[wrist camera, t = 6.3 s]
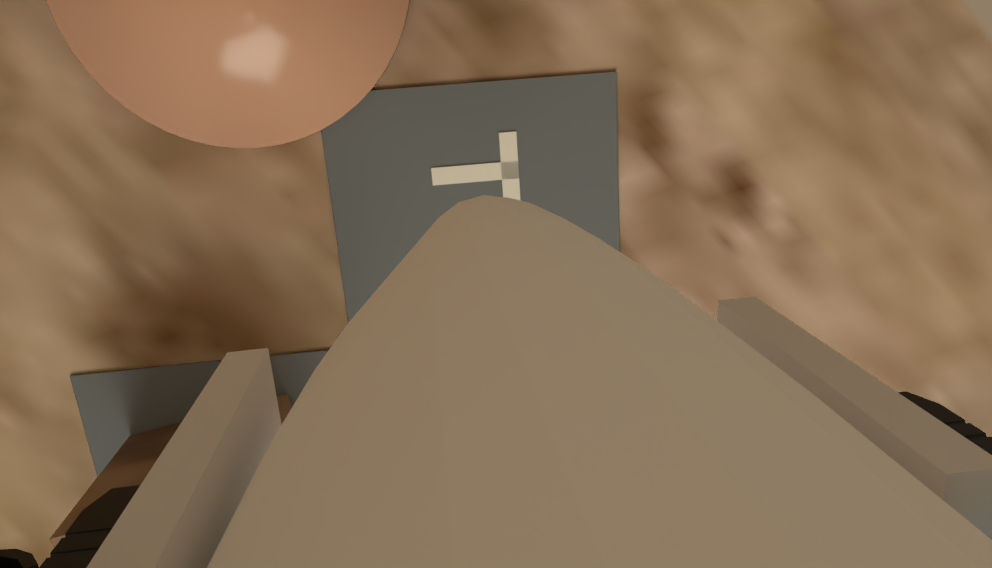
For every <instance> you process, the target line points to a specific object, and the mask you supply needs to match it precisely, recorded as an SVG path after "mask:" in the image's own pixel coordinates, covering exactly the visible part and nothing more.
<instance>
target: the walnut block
mask: <svg viewBox="0 0 992 568" xmlns="http://www.w3.org/2000/svg"><path fill="white" fill-rule="evenodd" d="M277 402H278V407H279V413H280V419H281V425H282V423H283V422H284V420H285V418H286V417H287V415H288V413H289V412H290V410H291V408H292V404H291V402H290V399H289V397H288V394H284V395H281V396H277ZM180 424H181V422H180V423H176V424H172V425H169V426H165V427H161V428H158V429H154V430H150V431H146V432H143V433H139V434H135V435H131V436H129V437H128V438H127V440H126V441H125V442H124V444H123V445H122V446H121V448H120V449H119V450H118V451H117V453H116V454H115V455H114V457H113V458H112V459H111V460H110V462H109V463H108V464H107V466H106V467H105V468H104V469H103V471H102V472H101V473H100V475H99V476H98V477H97V478H96V480H95V481H94V482H93V484H92V485H91V486H90V488H89V489H88V490H87V491H86V493H85V494H84V495H83V497H82V498H81V499H80V500H79V502H78V503H77V504H76V506H75V507H74V508H73V509H72V511H71V512H70V513H69V515H68V516H67V517H66V518H65V520H64V521H63V522H62V524H61V525H60V526H59V528H58V529H57V530H56V531H55V533H54V534H53V535H52V537H51V538H50V541H51V543H52V545H53V547H54V548H55V546H56V545H57V544H58V542H59V541H60V540H61V538H65V533H66V532H67V530H68V529H69V528H70V526H71V525H72V524H73V522H74V521H75V520H76V518H77V517H78V516H79V514H80V513H81V512H82V510H83V509H85V508H86V507H87V506H89V505H90V504H91V503H93V502H94V501H95V500H97V499H98V498H100V497H101V496H102V495H104V494H105V493H106V492H108V491H109V490H110V489H112V488H119V487H128V486H136V485H141V484H142V482H143V481H144V479H145V477H146V476H147V474H148V473H149V471H150V470H151V468H152V467H153V465H154V464H155V462H156V461H157V459H158V458H159V456H160V455H161V453H162V451H163V450H164V448H165V447H166V445H167V444H168V442H169V441H170V439H171V438H172V436H173V435H174V433H175V432H176V430H177V429H178V427H179V425H180Z"/></svg>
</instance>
